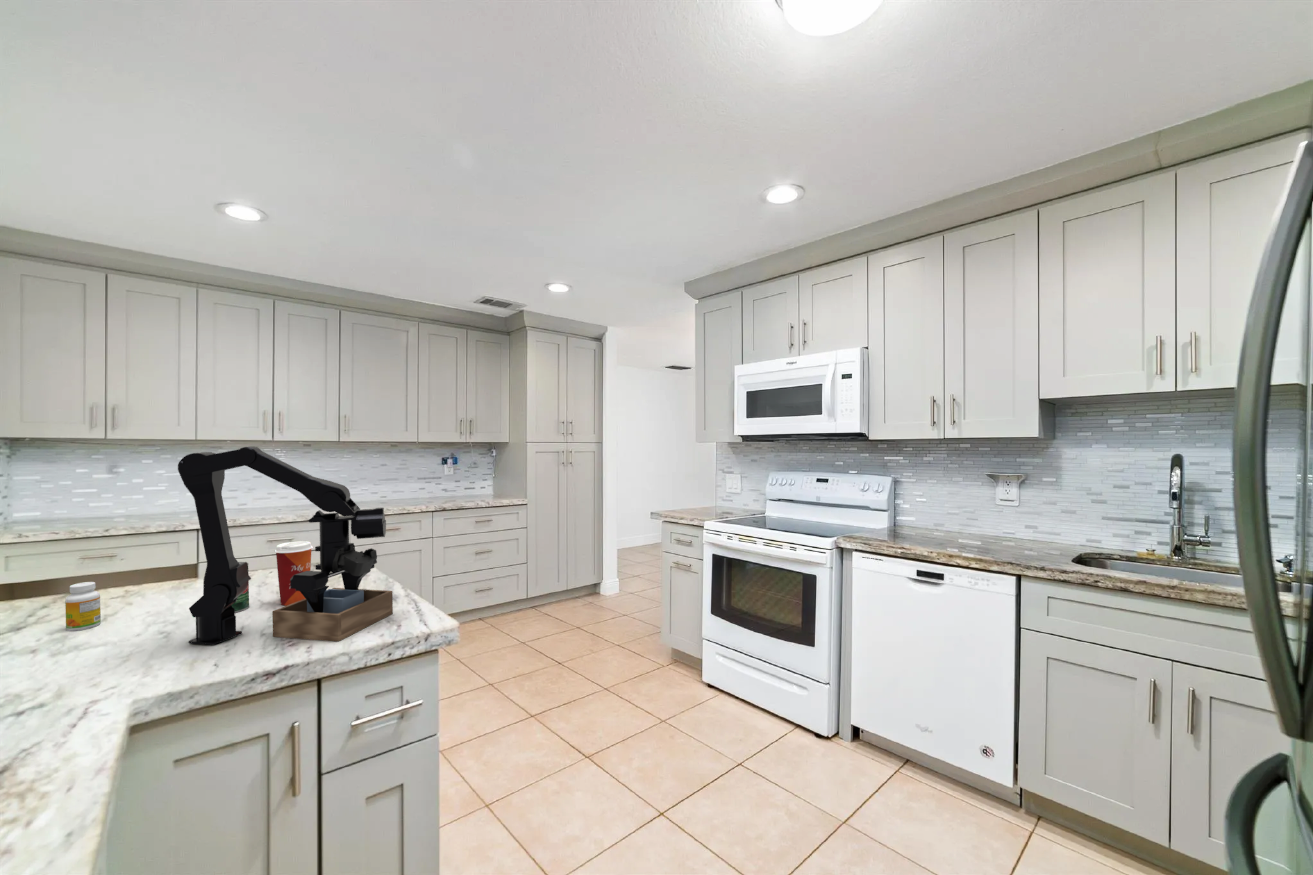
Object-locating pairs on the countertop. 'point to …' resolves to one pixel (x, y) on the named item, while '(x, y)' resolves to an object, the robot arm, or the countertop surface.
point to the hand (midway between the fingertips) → (335, 609)
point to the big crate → (331, 618)
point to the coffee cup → (292, 568)
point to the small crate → (340, 600)
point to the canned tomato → (242, 599)
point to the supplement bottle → (82, 607)
